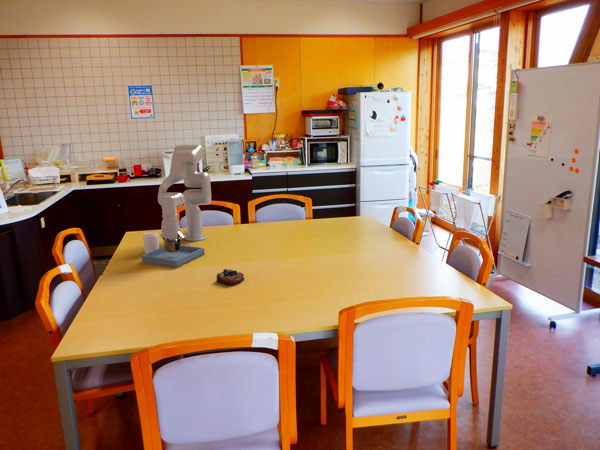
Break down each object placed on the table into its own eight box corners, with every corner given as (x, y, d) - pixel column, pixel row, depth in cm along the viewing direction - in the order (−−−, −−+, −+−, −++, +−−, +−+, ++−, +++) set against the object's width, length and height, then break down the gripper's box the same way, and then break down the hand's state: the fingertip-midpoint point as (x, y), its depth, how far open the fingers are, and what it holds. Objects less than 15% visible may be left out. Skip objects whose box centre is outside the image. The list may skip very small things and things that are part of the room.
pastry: (230, 275, 238) (229, 264, 236) (247, 280, 231) (247, 269, 229) (213, 282, 229) (212, 270, 228) (231, 287, 222) (230, 275, 221)
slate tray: (142, 262, 259) (141, 255, 258) (171, 250, 280) (170, 243, 279) (177, 268, 249) (176, 260, 248) (204, 254, 270) (204, 247, 269)
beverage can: (142, 253, 274) (139, 233, 271) (152, 249, 281) (150, 230, 278) (152, 255, 271) (150, 235, 268) (162, 251, 278) (160, 231, 274)
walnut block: (165, 251, 262) (164, 241, 260) (172, 248, 267) (171, 238, 266) (174, 252, 259) (173, 242, 258) (181, 249, 265) (180, 239, 263)
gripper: (153, 218, 259) (156, 249, 263) (178, 220, 252) (181, 253, 256) (162, 215, 265) (165, 246, 270) (187, 217, 258) (189, 249, 263)
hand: (173, 249), depth 263 cm, fingers closed on walnut block, 6 cm apart
